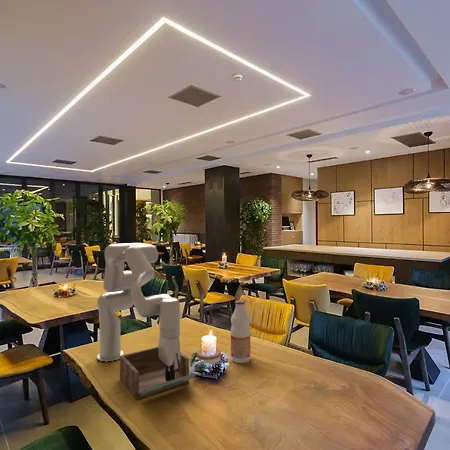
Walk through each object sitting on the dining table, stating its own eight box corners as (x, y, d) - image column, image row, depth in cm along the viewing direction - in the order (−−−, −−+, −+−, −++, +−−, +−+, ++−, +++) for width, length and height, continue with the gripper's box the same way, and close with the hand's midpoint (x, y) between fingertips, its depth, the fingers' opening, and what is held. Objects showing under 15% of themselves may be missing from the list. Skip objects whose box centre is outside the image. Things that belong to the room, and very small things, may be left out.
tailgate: (140, 392, 120) (147, 387, 114) (186, 377, 131) (194, 372, 125) (141, 398, 119) (148, 393, 113) (187, 383, 130) (196, 378, 124)
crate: (120, 379, 135) (119, 355, 135) (168, 365, 148) (168, 343, 148) (137, 401, 119) (136, 374, 118) (190, 383, 131) (190, 359, 131)
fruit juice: (240, 365, 148) (239, 304, 148) (226, 358, 155) (226, 300, 155) (254, 359, 154) (254, 301, 154) (241, 353, 161) (240, 297, 161)
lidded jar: (199, 376, 137) (199, 354, 137) (194, 365, 148) (194, 345, 148) (223, 373, 140) (223, 351, 140) (217, 363, 151) (217, 343, 151)
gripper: (152, 328, 125) (152, 375, 125) (169, 339, 113) (169, 391, 113) (170, 324, 129) (170, 370, 130) (188, 335, 117) (188, 385, 117)
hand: (170, 379), depth 121 cm, fingers closed
